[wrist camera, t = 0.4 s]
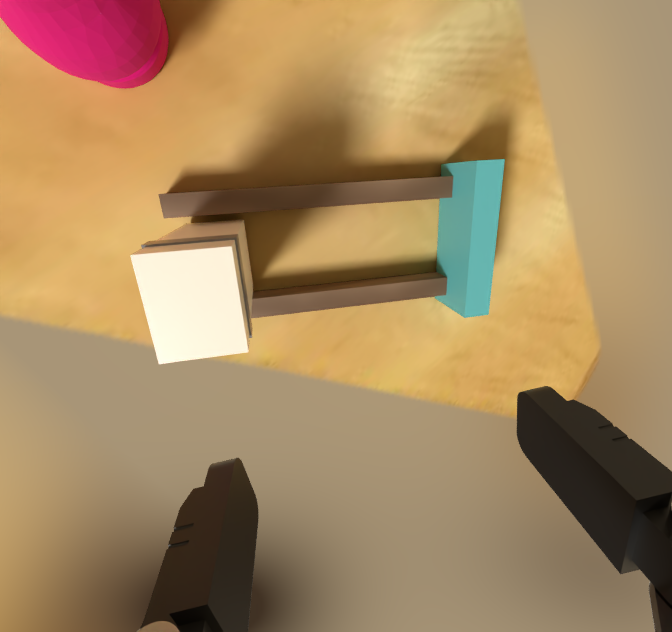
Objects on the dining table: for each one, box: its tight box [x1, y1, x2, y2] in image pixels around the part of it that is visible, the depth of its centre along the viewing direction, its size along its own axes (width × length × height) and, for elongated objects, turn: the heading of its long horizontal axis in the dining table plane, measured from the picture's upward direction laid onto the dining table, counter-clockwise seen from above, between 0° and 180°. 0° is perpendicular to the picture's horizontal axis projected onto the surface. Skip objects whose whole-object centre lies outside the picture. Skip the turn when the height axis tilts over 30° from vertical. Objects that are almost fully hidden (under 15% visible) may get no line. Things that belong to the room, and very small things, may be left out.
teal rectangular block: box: [435, 159, 505, 318], centre depth 28 cm, size 11×2×5 cm, turn 3°
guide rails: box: [159, 176, 453, 318], centre depth 27 cm, size 9×22×2 cm, turn 93°
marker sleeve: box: [130, 219, 253, 364], centre depth 21 cm, size 5×4×12 cm
